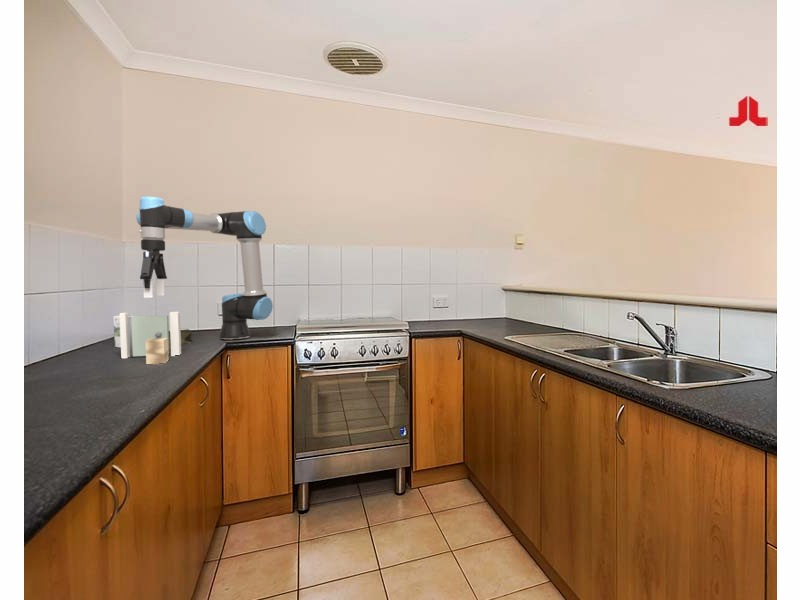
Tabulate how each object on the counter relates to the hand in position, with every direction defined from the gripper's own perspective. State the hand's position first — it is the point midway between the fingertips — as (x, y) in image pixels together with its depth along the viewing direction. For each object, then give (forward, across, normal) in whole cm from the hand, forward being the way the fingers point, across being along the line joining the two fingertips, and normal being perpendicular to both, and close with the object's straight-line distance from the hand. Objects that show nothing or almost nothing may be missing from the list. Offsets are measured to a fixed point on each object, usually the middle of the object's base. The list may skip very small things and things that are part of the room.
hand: (154, 296), depth 142 cm
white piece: (+25, -13, -5) cm, 29 cm away
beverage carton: (+26, -42, -7) cm, 50 cm away
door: (+25, -12, -6) cm, 28 cm away
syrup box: (+25, -38, -24) cm, 52 cm away
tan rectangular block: (+25, 0, 0) cm, 25 cm away
